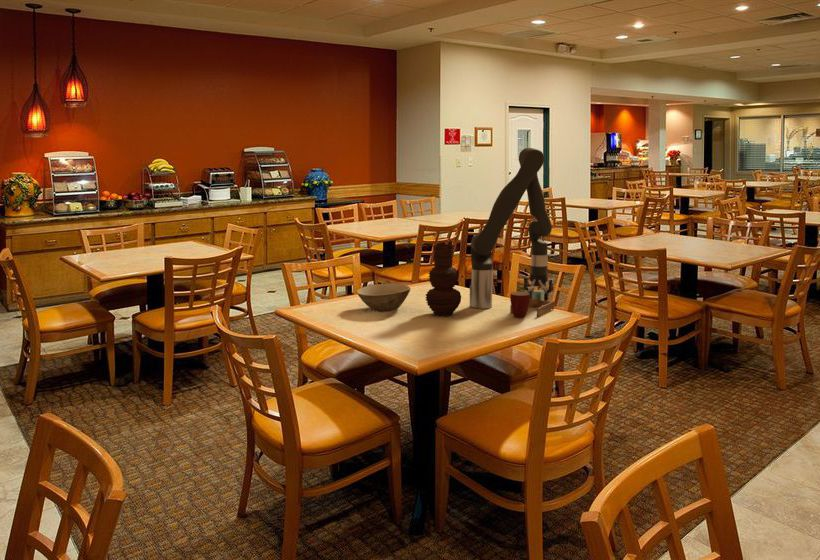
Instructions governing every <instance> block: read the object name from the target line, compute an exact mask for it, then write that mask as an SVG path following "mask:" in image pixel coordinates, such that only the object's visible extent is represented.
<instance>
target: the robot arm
mask: <svg viewBox="0 0 820 560" xmlns="http://www.w3.org/2000/svg"><path fill="white" fill-rule="evenodd" d="M518 162H519V166H520V167H519V170H518V171H517V173H516V175H515V176H514V177H513V178H512V179H511V180H510V181H509V182H508V183H507V184H506V185H505V186H504V187H503V189H501V191H500V192H499V194H498V196H497V197H496V199H495V201H494V203H493V206H492V208H491V211H490V214H489V217H488V220H487V222H486V224H485V225H484V227H483V228H482V230H481V231H480V232H477V233H475V234H474V235H473V236H472V238H471V240H470V262H471V284H470V285H469V307H472V308H474V309H490V308H492V307H493V270H494V269H493V264H494V263H493V259H492V258H493V257H492V251H493V250H494V247H495V246H496V243H497V240H498V238H499V236H500V234H501V232H502V230H503V228H504V227H505V226H506V224H507V223H508V221H509V220H510V218H511V216H512V215H513V213H514V212H515V210H516V209H517V206H518V204H519V203H520V202H521V200H522V198H523V196H524V194H525V193H527V199H528V200H527V201H528V208H529V214H530V216H532V217H534V218H535V219H533V220H532V221H530V222H529V225H528V236H529V240H530V244H531V257H530V276H525V277H523V284H524V285H523V286H524V287H523V288H524V290H525V291H527V293H529V294H530V299H532V293H533V291H534V288H535V287H538V288H542V290H543V291H544V300H545V301H549V295H550V293H552V292H553V291H554V286H555V285H554V284H555V279H554V278H548V264H549V261H548V260H549V259H548V257H549V256H548V248H549V247H548V242H546V241H544V240H543V239H542V237H543V238H544V237H546V238H547V237H549V236H550V235H551V233H552V230H553V229H552V228H553V226H552V225H553V224H552V222H551V219H550V217H549V214H548V212H547V210H546V209H547V208H546V201H545V196H544V193H543V189H542V187H541V184H540V180H539V177H538V173H539V171H540V169H541V168H542V167H543V165H544V163H545V156H544V153H543V151H541V150H539V149H538V148H533V147H525V148H523V149H522V150H521V151H520V153H518ZM530 282H531V283H530Z"/></svg>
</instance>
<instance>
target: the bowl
mask: <svg viewBox="0 0 820 560" xmlns="http://www.w3.org/2000/svg"><path fill="white" fill-rule="evenodd" d="M410 292H411V287H410V286H408V285H406V284H400V283H382V284H380V283H379V284H373V285H368V286H367V285H365V286H362V287H361V288H359V289H358V290H357V291H356V293H357V295H358V297H359V298H360V300H361V301H362V302H363V303H364V304H365V305H366V306H367V307H368V308H370V310H371V311H373V310H374V312H376V311H378V313H389V312H394V311H397V310H399V308H400V307H402V305H403V304H404V302H405V301H406V299H407V297H408V296H409V293H410Z"/></svg>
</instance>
